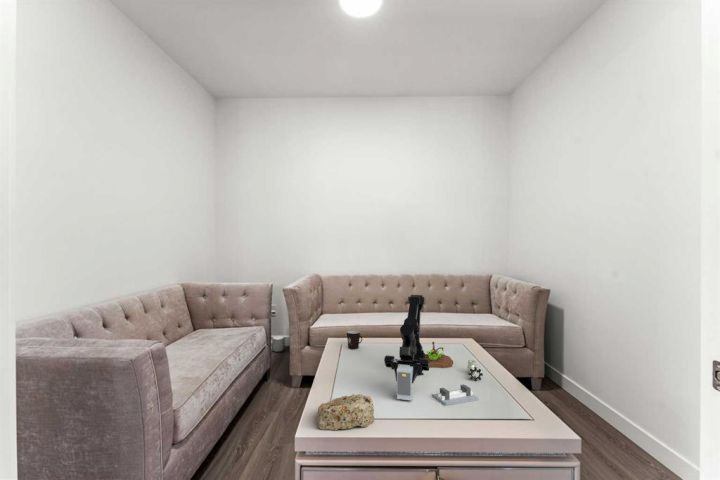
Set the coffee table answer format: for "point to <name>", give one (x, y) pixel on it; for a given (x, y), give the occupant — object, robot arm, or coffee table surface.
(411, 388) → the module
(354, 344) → the coffee mug
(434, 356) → the plant
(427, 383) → the coffee table surface
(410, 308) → the robot arm
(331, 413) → the rock
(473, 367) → the valve
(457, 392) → the rail
